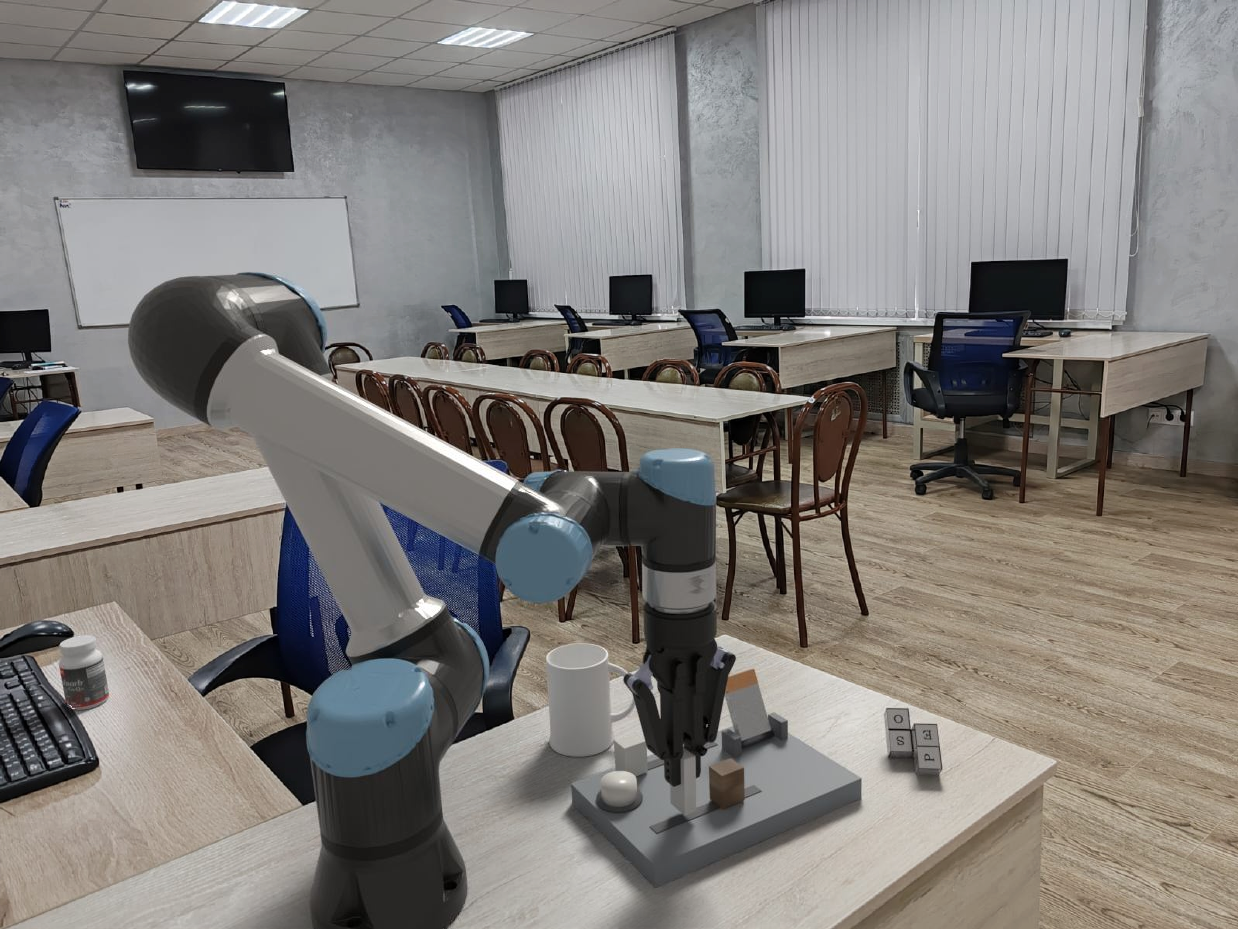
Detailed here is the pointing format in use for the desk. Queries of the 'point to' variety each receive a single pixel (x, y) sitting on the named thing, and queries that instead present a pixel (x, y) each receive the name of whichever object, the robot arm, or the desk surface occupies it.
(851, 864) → the desk surface
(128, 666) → the desk surface
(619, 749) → the slider
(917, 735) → the building blocks
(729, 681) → the lever
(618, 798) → the button
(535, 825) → the desk surface
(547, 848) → the desk surface
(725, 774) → the slider
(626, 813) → the panel
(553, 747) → the mug
